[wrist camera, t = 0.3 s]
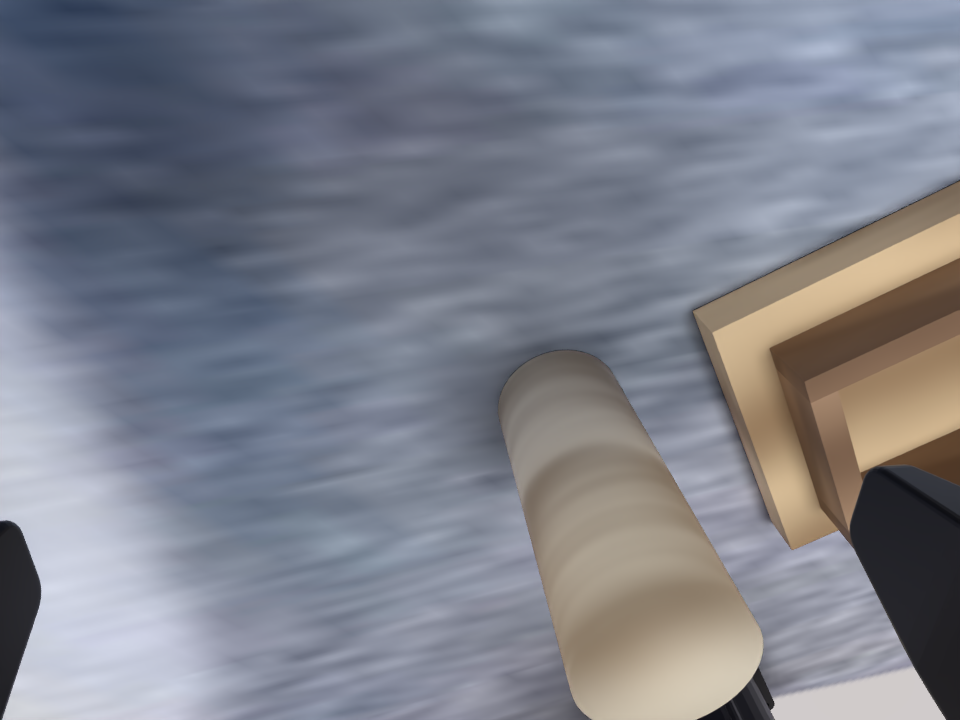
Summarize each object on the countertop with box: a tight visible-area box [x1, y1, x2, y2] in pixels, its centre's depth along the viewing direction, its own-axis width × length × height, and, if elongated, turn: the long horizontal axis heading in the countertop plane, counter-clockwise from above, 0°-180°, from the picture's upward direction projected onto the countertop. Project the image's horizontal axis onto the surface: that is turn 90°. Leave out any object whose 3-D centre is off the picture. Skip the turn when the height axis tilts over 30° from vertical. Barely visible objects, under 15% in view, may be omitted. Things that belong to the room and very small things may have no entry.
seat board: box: [693, 181, 960, 550], centre depth 22 cm, size 10×10×4 cm
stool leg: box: [498, 350, 763, 720], centre depth 19 cm, size 4×4×10 cm
